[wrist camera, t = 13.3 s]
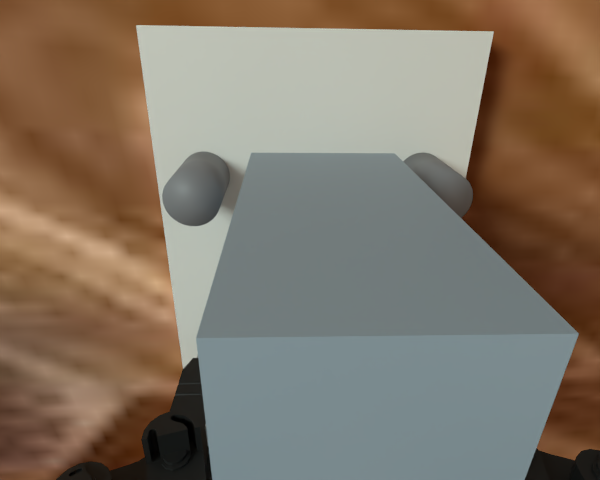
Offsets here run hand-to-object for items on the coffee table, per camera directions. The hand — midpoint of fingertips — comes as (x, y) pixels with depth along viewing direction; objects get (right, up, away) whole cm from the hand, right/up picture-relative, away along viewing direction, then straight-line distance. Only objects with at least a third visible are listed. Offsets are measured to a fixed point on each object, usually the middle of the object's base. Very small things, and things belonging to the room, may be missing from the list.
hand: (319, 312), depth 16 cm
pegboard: (0, +2, +4) cm, 5 cm away
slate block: (0, 0, +1) cm, 1 cm away
